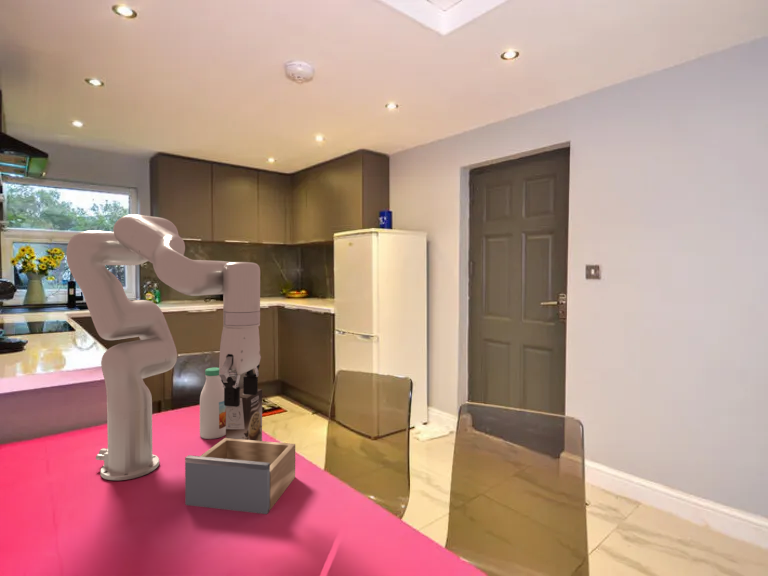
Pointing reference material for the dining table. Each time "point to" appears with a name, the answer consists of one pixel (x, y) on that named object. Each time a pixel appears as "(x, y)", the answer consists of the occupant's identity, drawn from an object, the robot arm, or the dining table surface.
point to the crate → (261, 460)
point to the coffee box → (245, 418)
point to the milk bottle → (212, 406)
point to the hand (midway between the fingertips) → (241, 399)
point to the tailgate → (227, 484)
